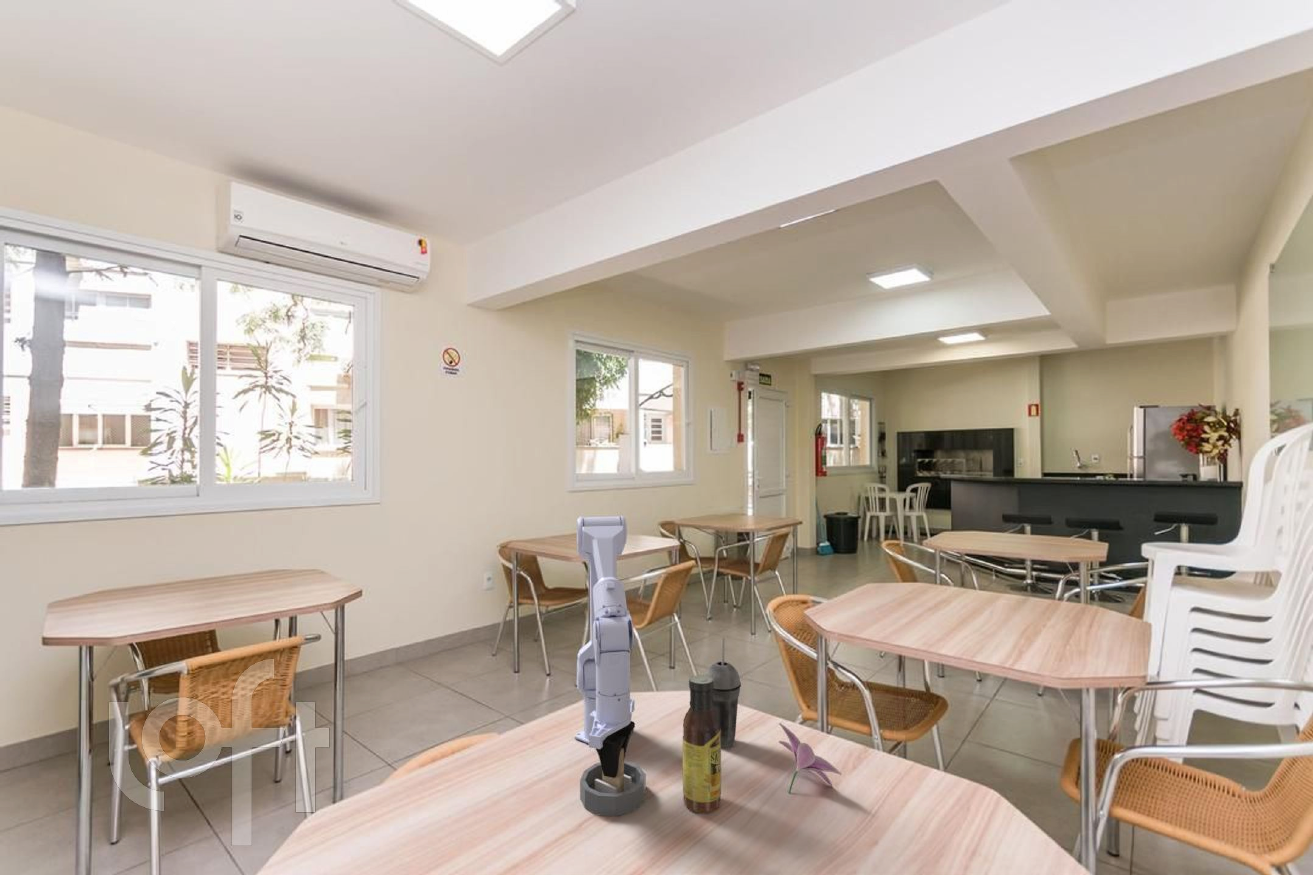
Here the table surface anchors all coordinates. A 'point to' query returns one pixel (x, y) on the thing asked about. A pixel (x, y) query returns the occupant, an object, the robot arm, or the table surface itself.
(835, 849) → the table surface
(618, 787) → the wooden jenga block
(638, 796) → the grey round bowl
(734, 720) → the beverage cup
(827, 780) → the lily
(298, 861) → the table surface
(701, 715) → the sauce bottle
